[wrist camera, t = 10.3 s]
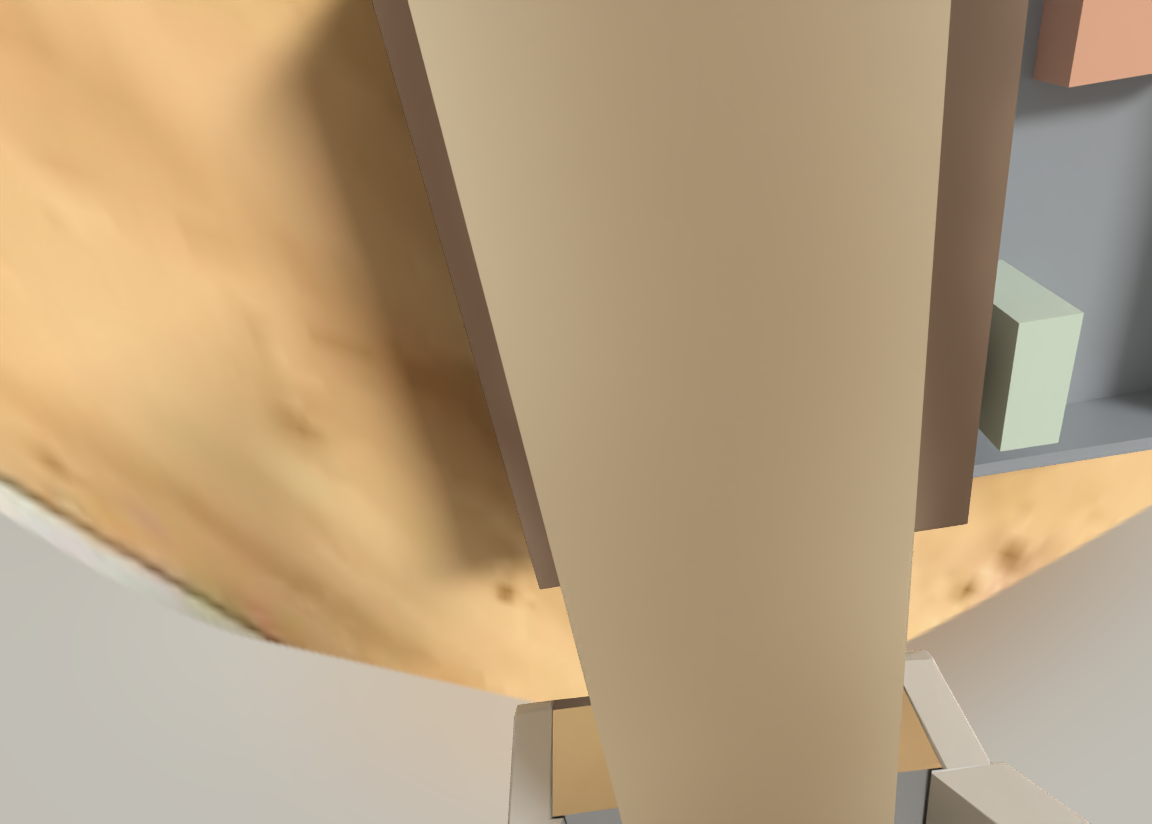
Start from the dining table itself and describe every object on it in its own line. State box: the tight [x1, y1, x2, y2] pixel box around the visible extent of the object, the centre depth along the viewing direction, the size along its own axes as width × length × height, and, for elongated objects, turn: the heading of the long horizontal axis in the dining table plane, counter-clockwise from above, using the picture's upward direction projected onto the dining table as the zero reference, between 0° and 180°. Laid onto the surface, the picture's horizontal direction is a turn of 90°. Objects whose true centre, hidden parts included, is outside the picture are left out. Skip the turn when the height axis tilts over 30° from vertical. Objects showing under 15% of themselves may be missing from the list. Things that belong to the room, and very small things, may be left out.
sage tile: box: [979, 260, 1084, 451], centre depth 27 cm, size 5×5×2 cm
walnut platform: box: [372, 0, 1029, 589], centre depth 25 cm, size 16×22×6 cm
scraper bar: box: [408, 0, 951, 824], centre depth 9 cm, size 2×20×4 cm, turn 10°
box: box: [973, 0, 1152, 477], centre depth 25 cm, size 11×22×4 cm, turn 10°
